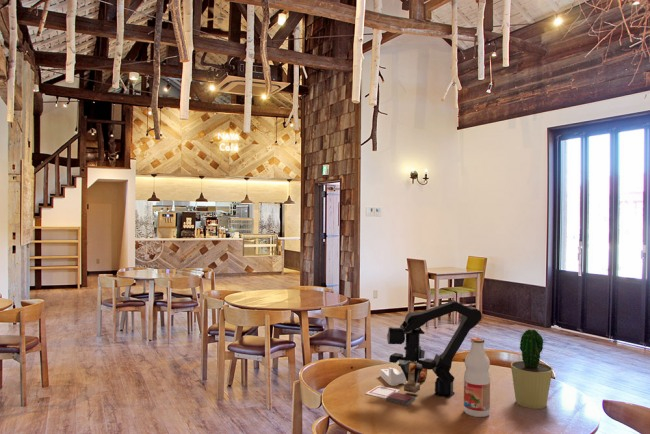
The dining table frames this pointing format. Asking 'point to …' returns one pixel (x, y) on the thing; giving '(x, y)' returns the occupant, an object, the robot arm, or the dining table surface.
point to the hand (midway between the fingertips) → (412, 381)
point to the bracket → (393, 376)
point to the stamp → (411, 384)
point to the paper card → (382, 391)
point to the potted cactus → (531, 373)
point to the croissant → (422, 374)
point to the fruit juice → (477, 380)
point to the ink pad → (400, 398)
